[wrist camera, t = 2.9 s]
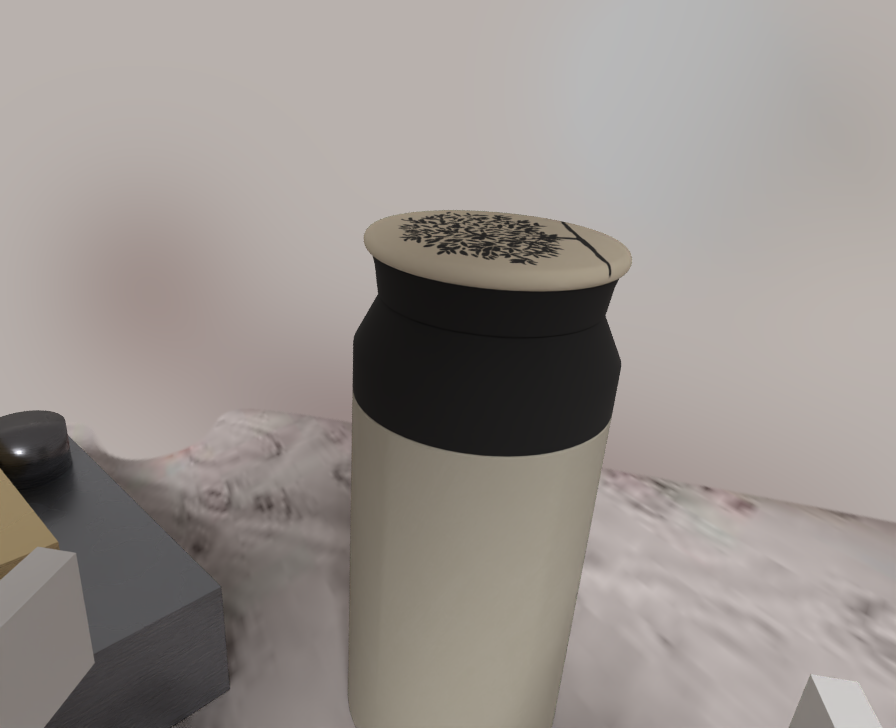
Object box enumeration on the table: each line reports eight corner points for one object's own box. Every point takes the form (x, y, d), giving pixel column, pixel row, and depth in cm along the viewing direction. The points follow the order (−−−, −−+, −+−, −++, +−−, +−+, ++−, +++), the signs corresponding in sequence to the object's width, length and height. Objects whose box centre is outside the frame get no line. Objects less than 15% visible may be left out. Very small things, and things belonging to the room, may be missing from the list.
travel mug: (325, 779, 22) (323, 257, 15) (369, 607, 30) (381, 199, 22) (562, 808, 22) (673, 289, 15) (547, 627, 29) (617, 220, 22)
